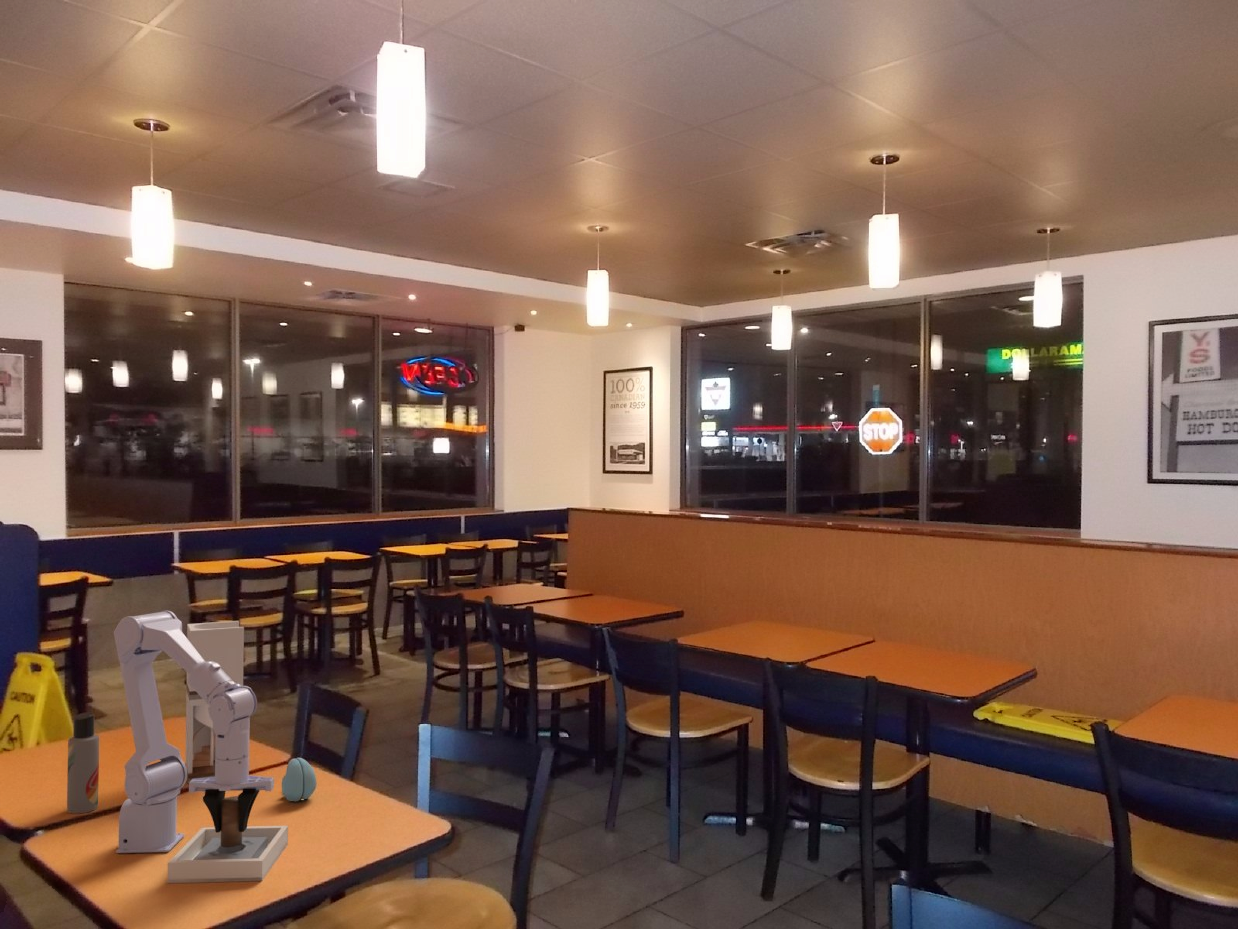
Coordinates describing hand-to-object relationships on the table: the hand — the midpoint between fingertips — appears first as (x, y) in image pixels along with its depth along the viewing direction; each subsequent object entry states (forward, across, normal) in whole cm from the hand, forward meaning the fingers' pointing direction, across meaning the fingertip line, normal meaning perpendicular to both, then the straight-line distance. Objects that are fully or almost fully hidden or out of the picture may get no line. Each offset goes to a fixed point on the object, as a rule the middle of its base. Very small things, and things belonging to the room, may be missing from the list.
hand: (231, 830), depth 167 cm
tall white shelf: (+6, -21, +51) cm, 55 cm away
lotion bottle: (+6, -40, +29) cm, 50 cm away
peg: (+2, 0, 0) cm, 3 cm away
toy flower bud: (+6, +2, +34) cm, 35 cm away
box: (+6, 0, 0) cm, 6 cm away
